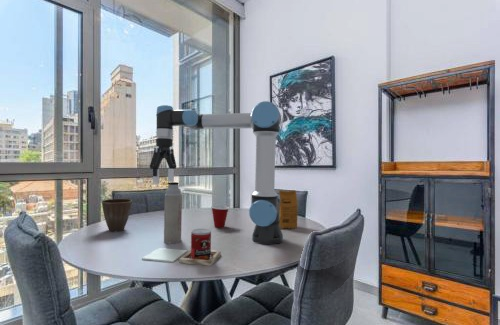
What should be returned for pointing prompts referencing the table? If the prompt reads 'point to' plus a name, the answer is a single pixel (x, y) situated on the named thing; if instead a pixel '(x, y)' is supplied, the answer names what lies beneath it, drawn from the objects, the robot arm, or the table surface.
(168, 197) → the thermos bottle
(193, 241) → the canned food
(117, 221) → the plant pot
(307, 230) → the table surface
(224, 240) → the table surface
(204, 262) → the square wooden frame
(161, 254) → the sage pad
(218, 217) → the plastic cup
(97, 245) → the table surface
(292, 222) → the coffee package
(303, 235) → the table surface
